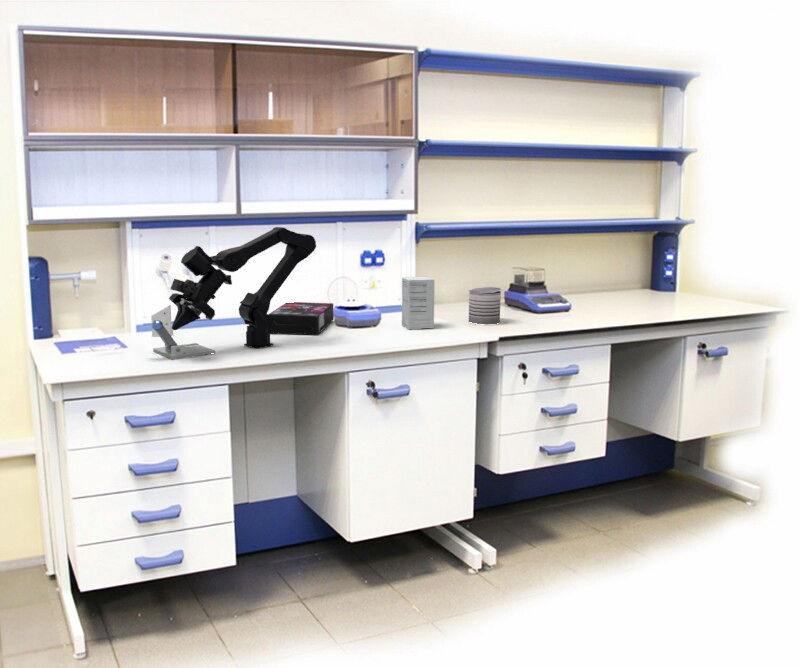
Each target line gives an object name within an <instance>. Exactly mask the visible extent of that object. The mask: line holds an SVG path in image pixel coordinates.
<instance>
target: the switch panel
mask: <svg viewBox="0 0 800 668" xmlns="http://www.w3.org/2000/svg"><path fill="white" fill-rule="evenodd" d="M176 344H177V346H171V351H170V350H169V348H168V347H167V346H166V344H165V343H164V346H162V347H154V348H152V350H153V353H155V354H157V355H160V356H163V357H164V358H167V359H169V358H170V360H172V359H174V360H179V359H178V358H181V359H186V358H185V357H188V358H193V357H192V356H196V357H199V356H198V355H203V356H206V355H205V354H210V355H212V354H211V353H215V354H216V350H214V349H212V348H209V347H206V346H204V345H201V344H199V343H196V342H192V343H185V344H178V343H177V342H176Z"/></svg>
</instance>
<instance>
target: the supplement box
mask: <svg viewBox="0 0 800 668" xmlns="http://www.w3.org/2000/svg"><path fill="white" fill-rule="evenodd" d="M402 325H403V326H402ZM401 326H402V327H404V328H405V327H406V329H407V330H408V329H412V330H421V329H420V328H434V329H435V279H434V278H431V277H430V276H429V277H428V276H403V277H402V278H401Z"/></svg>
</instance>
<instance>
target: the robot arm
mask: <svg viewBox="0 0 800 668" xmlns="http://www.w3.org/2000/svg"><path fill="white" fill-rule="evenodd" d="M279 243H282V244H285V245H286V247H285V251H284V252H285V253H284V255H283V257H281V259H280V260H279V262H278V263H277V265H276V266H275V267H274V268H273V270H272V271H271V273H270V274H269V275H268V276H267V277H266V279H265V281H264V282H263V283H262V285H261V286H260V287H259V289H258V290H257V291H256V292H254V293H252V292H247V293H246V294H245V296H244V298H243V299H241V301H240V302H239V304H240V305H239V307H238V314H239V316H240V318H241V319H242V320H243V322H244V325H247V326H246V332H245V343H244V344H243V345H244V346H245V345H246V347H249V346H250V348H253V347H254V349H260V347H262V348H266V347H265V346H267V347H272V346H271V345H273V346H274V343H272V342H271V333H270V327H272V324H273V321H274V320H273V319H272V318H271V317H270V316H269V315H268V314H269V313H268V312H269V310H270V307H271V306H270V305H271V301H272V300H273V298H274V296H275V295H276V294H277V292H278V291H279V289H280V288H281V287H282V286H283V284H284V283H285V281H286V280H287V279H288V277H289V276H290V274H292V272H293V270H294V269H295V268H296V267H297V265H298V264H299V263H301V262H302V261H304V260H306V259H307V258H308V257H309V256H310V255H311V254H312V253H314V251H315V250H316V248H317V241H316V238H315V237H314V236H313V235H311V234H307V233H299V232H295V231H293V230H290V229H287V228H286V227H281V226H276V227H273V228H272V229H270V230H269V231H267V232H265V233H263V234H261V235H260V236H258V237H256V238H253V239H251V240H249V241H248V242H246V243H244V244H242V245H240V246H235V247H231V248H226V249H222V250H220V251H218V252H217V254H216V255H212V256H209V255H208V254H207V253H206V252H205V251H204V249H203V248H202V247H201V246H198V245H195V246H194V248H192V249H190V250H189V251H188V252H186V253H185V254H183V257H182V258H181V260H180V262H181V264H182V265H183V266H184V267H185V268H187V270H188V271H190V273H192V274H193V275H194V276H195V277H198V276H199V277H201V278H200V279H199V280H198V282H196V281H194V280H191V279H186V280H180V279H177V278H174V279H173V281H172V283H171V286H170V290H171V291H176V292H177V293H176V292H174V293H171V295H170V297H169V298H168V300H169V301H171V303H173V304H174V305H175V306H176V307H177V312H176V315H175V318H174V320H173V322H172V324H171V325H172V327H171V328H172V329H173V331H177V330H179V329H181V328H182V327H185V326H186V325H189V324H190V323H192V322H195V321H197V320H200V319H201V317H200V316H201V314H203V315H204V316H205V319H206V320H209V321H210V320H211V321H212V320H213V318H214V317H215V315H216V310H215V309H214V308H213V307H212V306H211V305H209V302H210V300H215V299H216V295H215V294H216V293H217V292H218V290H219V289H220V288H221V286H223V284H226V285H230V286H231V285H232V284H233V282H232V281H233V280H232V275H230V274H226V273H225V272H223V271H226V272H231V273H234V272H238V271H239V270H240V269H241V268H242V267H244V266H245V265H246V264H247V263H248V261H249V260H251V259H252V258H253V257H255V256H257V255H259V254H261V253H262V252H264V251H266V250H269V249H270V248H272V247H274V246H275V245H278V244H279ZM215 267H217V268H218V269H216V268H215Z"/></svg>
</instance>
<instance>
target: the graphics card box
mask: <svg viewBox="0 0 800 668" xmlns="http://www.w3.org/2000/svg"><path fill="white" fill-rule="evenodd" d="M293 302H294V303H286V302H285V303H284V304H282V305H280V306H279V307H278V308H276V309H275V310H273V311H271V312H269V313H267V314H268V315H269V316H270V317H271V318H272V319H273V320H274V321H273V324H272V327H270V334H276V333H282V335H283V334H287V335H308V334H313V336H314V335H319V334H320V333H321V332H322V331H323V330H325V328H327V326H328V325H330V324H331V322H333V321H334V320H335V319H334V316H335V315H334V303H332V302H329V303H328V302H303V301H301V302H300V301H299V302H298V301H293Z"/></svg>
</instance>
